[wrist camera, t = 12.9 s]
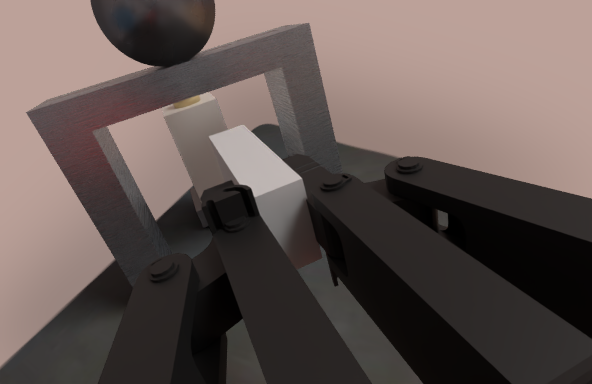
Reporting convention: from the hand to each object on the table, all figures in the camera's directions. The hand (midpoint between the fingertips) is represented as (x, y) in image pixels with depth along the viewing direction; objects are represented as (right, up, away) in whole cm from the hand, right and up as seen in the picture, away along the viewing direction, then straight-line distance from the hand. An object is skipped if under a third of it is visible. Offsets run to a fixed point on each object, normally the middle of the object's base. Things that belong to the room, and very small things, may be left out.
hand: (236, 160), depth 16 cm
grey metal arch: (-1, -6, +15) cm, 16 cm away
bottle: (-4, -2, +22) cm, 23 cm away
